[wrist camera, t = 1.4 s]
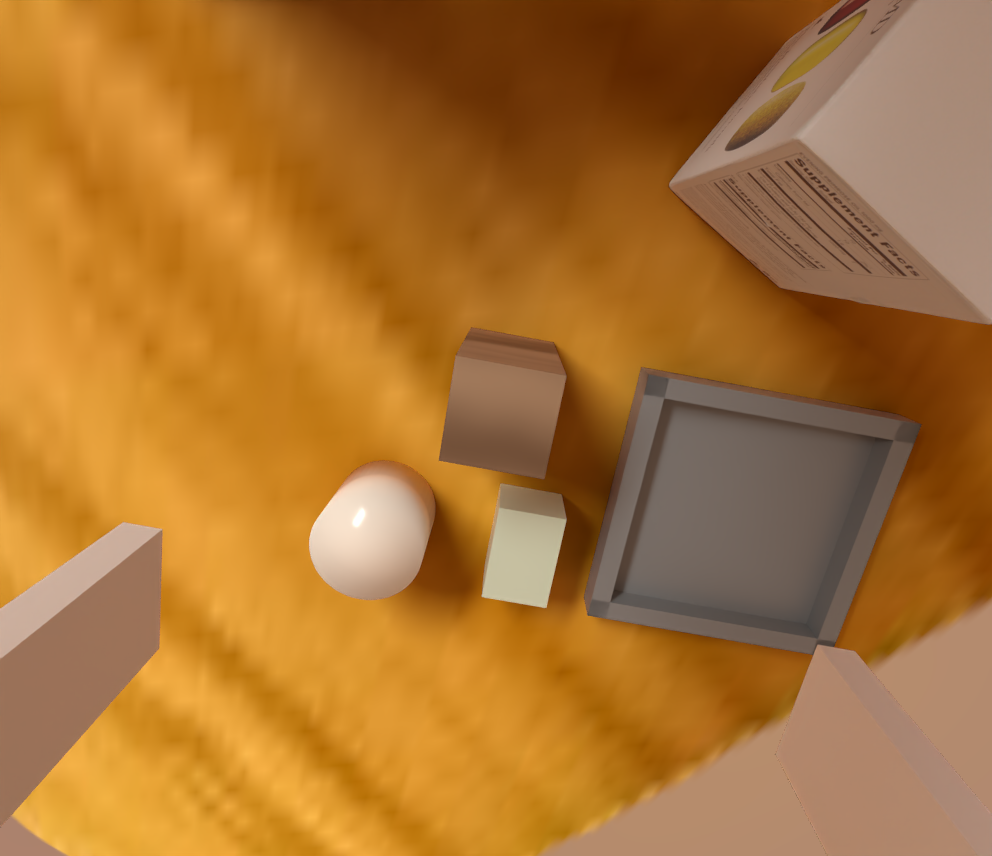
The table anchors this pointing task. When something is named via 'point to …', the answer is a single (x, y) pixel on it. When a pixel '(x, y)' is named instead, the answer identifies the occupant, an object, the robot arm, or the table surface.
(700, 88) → the table surface
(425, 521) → the glossy white capsule
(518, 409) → the walnut block
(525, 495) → the cream box
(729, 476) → the tray
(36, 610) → the robot arm
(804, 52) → the supplement box
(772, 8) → the table surface
